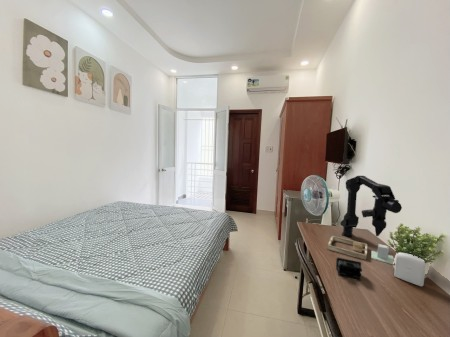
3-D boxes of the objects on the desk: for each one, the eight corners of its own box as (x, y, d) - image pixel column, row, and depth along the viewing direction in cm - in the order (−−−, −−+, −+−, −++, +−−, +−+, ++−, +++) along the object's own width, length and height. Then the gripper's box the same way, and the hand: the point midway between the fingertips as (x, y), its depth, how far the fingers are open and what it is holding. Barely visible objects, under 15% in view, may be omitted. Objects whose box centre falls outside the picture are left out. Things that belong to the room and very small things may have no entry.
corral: (331, 239, 138) (332, 235, 137) (367, 248, 126) (367, 244, 126) (327, 249, 124) (327, 245, 123) (366, 260, 112) (366, 255, 112)
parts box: (377, 253, 118) (378, 243, 118) (387, 256, 116) (388, 245, 115) (377, 257, 115) (378, 246, 114) (387, 259, 112) (388, 248, 111)
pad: (371, 251, 122) (371, 250, 122) (393, 257, 116) (393, 256, 116) (371, 258, 114) (371, 257, 114) (394, 264, 108) (394, 263, 108)
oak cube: (352, 247, 126) (353, 241, 126) (360, 249, 125) (361, 243, 124) (353, 250, 123) (354, 244, 122) (361, 252, 121) (362, 245, 121)
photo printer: (392, 276, 98) (395, 251, 97) (395, 273, 101) (397, 249, 99) (422, 288, 90) (426, 261, 89) (424, 284, 93) (427, 258, 92)
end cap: (358, 272, 100) (359, 259, 100) (362, 281, 94) (363, 267, 93) (335, 267, 104) (336, 255, 103) (337, 275, 98) (338, 262, 97)
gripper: (363, 201, 129) (361, 224, 131) (362, 208, 114) (359, 234, 116) (386, 204, 123) (383, 229, 125) (388, 212, 108) (384, 240, 110)
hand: (377, 233), depth 119 cm, fingers open, 9 cm apart
